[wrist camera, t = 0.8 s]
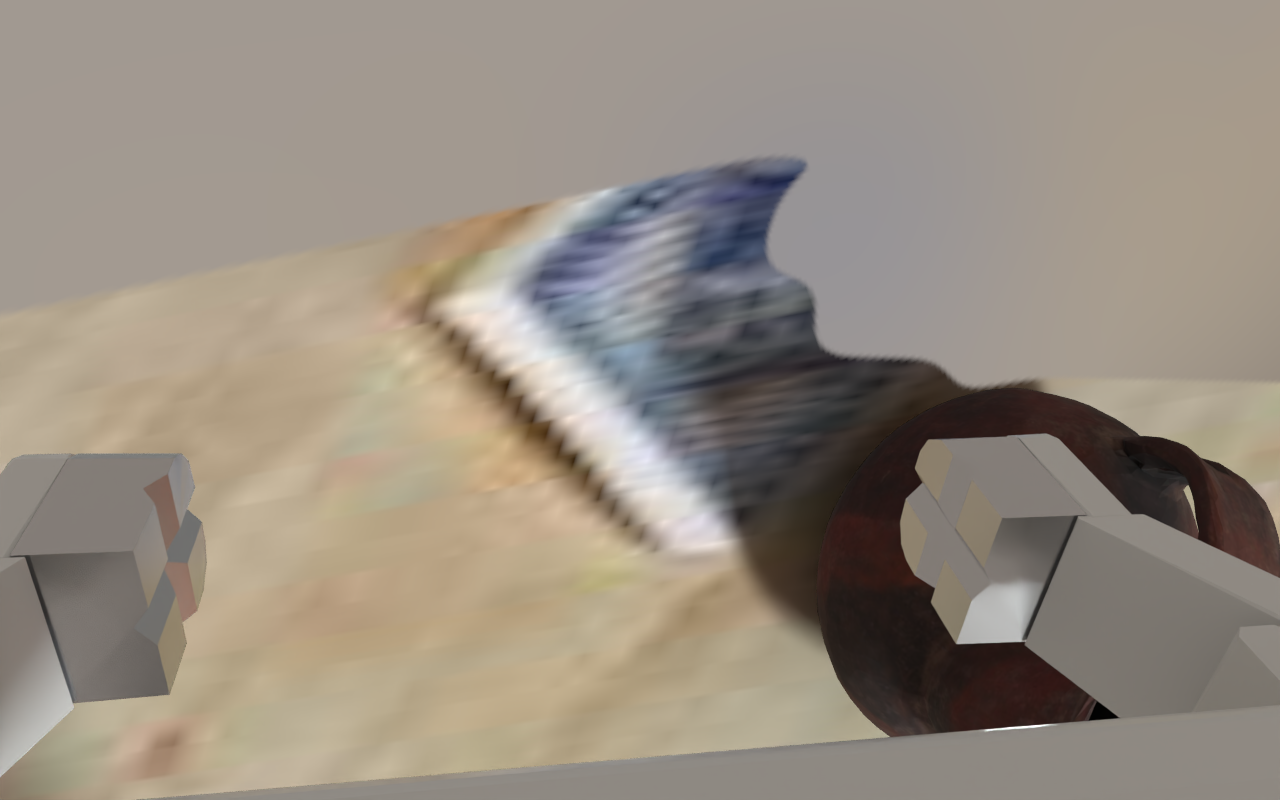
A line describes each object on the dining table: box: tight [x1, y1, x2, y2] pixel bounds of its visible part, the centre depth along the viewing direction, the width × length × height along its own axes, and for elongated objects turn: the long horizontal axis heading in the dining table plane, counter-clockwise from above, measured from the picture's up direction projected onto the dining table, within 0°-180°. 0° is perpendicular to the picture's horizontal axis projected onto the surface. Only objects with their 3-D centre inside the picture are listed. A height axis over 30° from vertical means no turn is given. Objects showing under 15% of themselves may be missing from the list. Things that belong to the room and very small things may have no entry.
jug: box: [817, 388, 1280, 737], centre depth 56 cm, size 25×25×25 cm
